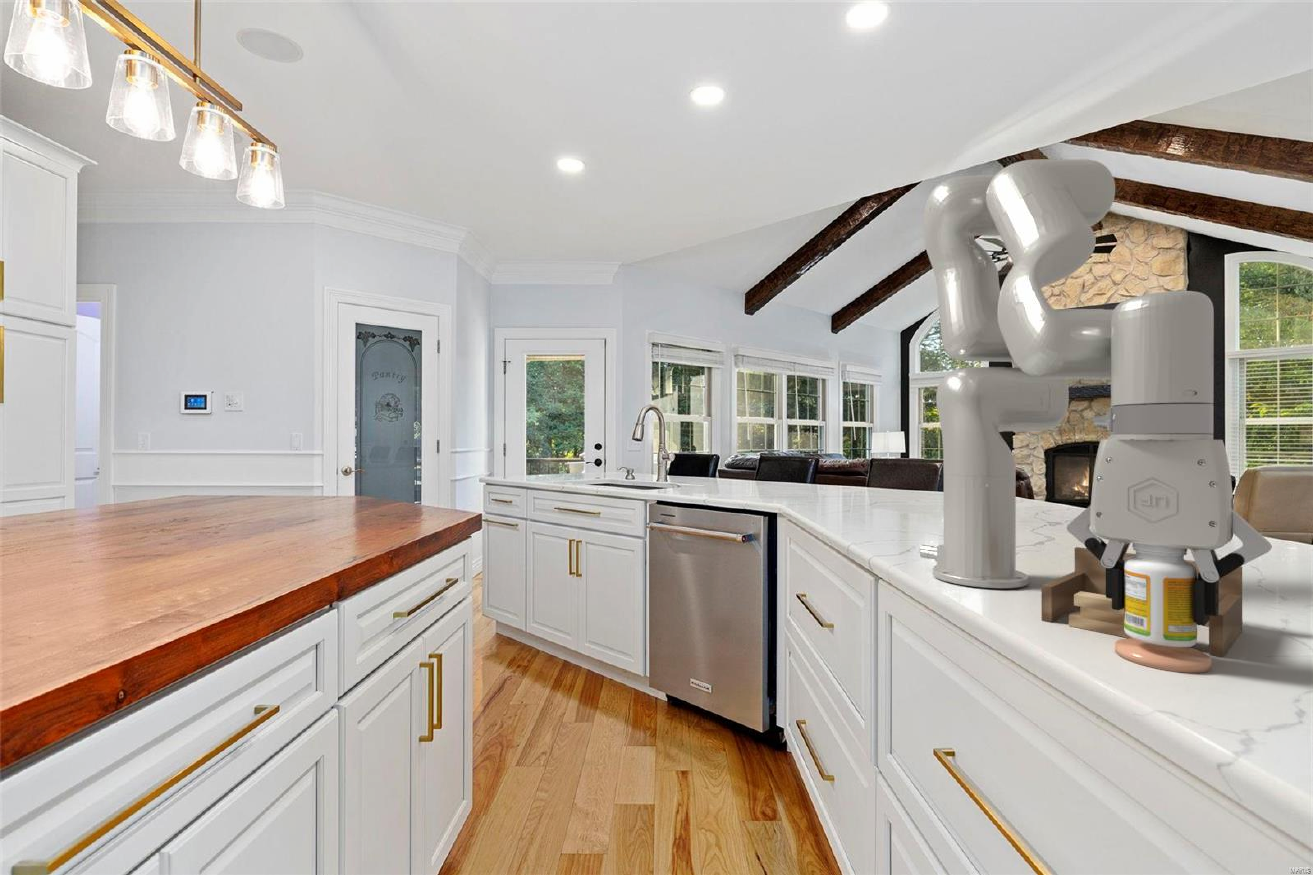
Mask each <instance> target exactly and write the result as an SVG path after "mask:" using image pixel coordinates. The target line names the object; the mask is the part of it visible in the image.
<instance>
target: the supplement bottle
mask: <svg viewBox="0 0 1313 875" xmlns="http://www.w3.org/2000/svg"><path fill="white" fill-rule="evenodd" d="M1132 547H1133V548H1132V550H1133V551H1135V554H1136V555H1135V556H1131V557H1129V558H1127V559H1126V560H1125V562H1124V631H1125V633H1126V634H1127V635H1129V636H1130V637H1132V638H1134V639H1137V640H1140V641H1143V642H1146V643H1151V644H1157V645H1163V646H1172V647H1189V648H1192V647H1193V646H1195V645H1196V644H1197V641H1198V625H1197V624H1196V623H1194V621H1193V584H1194V581H1195V580H1196V579H1197V571H1196V568H1195V567H1194V566H1193V565H1192V564H1191V563H1189V562H1187V561H1185V560H1186V559H1185V556H1187V555H1188V553H1187V552H1188V549H1184V548H1174V547H1165V546H1156V545H1146V544H1137V543H1132Z"/></svg>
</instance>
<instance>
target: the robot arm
mask: <svg viewBox="0 0 1313 875" xmlns="http://www.w3.org/2000/svg"><path fill="white" fill-rule="evenodd" d="M1115 193H1116V183H1115V179H1114V176H1113V173H1112V172H1111V171H1110V169H1109V168H1108V167H1107V166H1106V165H1104V164H1103V163H1102V162H1099V161H1097V160H1092V159H1066V158H1065V159H1062V158H1061V159H1056V158H1055V159H1052V158H1051V159H1050V158H1049V159H1046V158H1045V159H1043V158H1042V159H1041V158H1039V159H1025V160H1021V161H1016V162H1013V163H1012V164H1009V165H1007V166H1006V167H1004V168H1002V169H1001V170H1000V171H998V172H997V173H996V174H975V175H963V176H962V175H961V176H957V177H952V178H949V179H947V180H944V181H942V182H941V183H939V184H937V185H936V186H935V188H933V189H932V190H931V192H930V194H929V196H928V198H927V200H926V203H925V207H924V212H923V218H922V219H923V220H922V221H923V222H922V234H923V241H924V245H925V249H926V253H927V255H928V259H929V262H930V264H931V267H932V269H933V272H934V276H935V281H936V287H937V289H936V290H937V302H938V303H937V304H938V312H939V323H940V333H941V340H942V345H943V349H944V351H945V353H946V354H947V356H948V357H949V358H951V359H953V360H957V361H962V362H996V363H997V362H1002V363H1003V362H1010V363H1011V364H1012V366H1013V367H1005V366H997V367H996V366H976V367H975V366H974V367H972V366H971V367H965V368H964V367H963V368H959V369H955V370H952V372H949V373H948V374H947V375H945V376H943V378H942V379H941V380H940V382H939V384H938V386H937V389H936V396H935V397H936V398H935V400H936V401H935V402H936V409H937V414H938V419H939V423H940V430H941V437H942V438H941V439H942V451H943V452H942V455H943V456H942V458H943V459H942V460H943V461H942V462H943V464H942V465H943V472H942V473H943V544H939V545H937V546H934V545H929V544H921V545H920V547H919V556H920V558H922V559H928V560H929V559H931V560H934V561H935V562H936V565H934V566H933V567H932V568H931V569H932V575H933V577H935V579H938V580H940V581H943V582H944V581H945V582H947V583H951V584H955V585H962V586H968V587H973V588H974V587H975V588H983V589H984V588H986V589H1016V588H1017V589H1018V588H1023V587H1025V586H1027V585H1028V584H1029V576H1028V574H1026V573H1024V572H1022V571H1021V570H1017V568H1016V566H1017V565H1016V562H1017V559H1016V541H1017V540H1016V536H1017V533H1016V532H1017V528H1016V524H1017V523H1016V522H1017V521H1016V520H1017V519H1016V510H1017V508H1016V504H1017V503H1016V502H1017V500H1016V495H1017V494H1016V489H1017V488H1016V486H1017V485H1016V481H1017V480H1016V479H1017V478H1016V470H1017V469H1016V467H1017V466H1016V461H1015V457H1014V454H1013V452H1012V450H1011V449H1010V446H1008V444H1007V442H1006V441H1005V440H1004V438H1003V437H1002V435H1001V433H1002V432H1042V431H1043V432H1044V431H1049V430H1052V429H1054V428H1056V427H1057V426H1058V425H1060V424H1061V423H1062V421H1063V420H1064V419H1065V416H1066V415H1067V412H1068V408H1069V404H1070V403H1069V398H1070V396H1069V394H1070V393H1069V392H1070V391H1069V381H1068V380H1094V381H1109V380H1110V406H1111V407H1110V406H1109V407H1108V410H1107V412H1103V413H1102V414H1097V413H1096V414H1094V416H1093V419H1092V420H1093V421H1092V422H1093V427H1094V428H1103V429H1105V430H1107V431H1108V434H1110V439H1100V441H1099V444H1098V448H1097V453H1096V459H1095V462H1094V471H1093V478H1092V489H1091V497H1090V498H1091V500H1090V505H1088V506H1087V508H1085V509H1084V510H1083V511H1082V512H1081V513H1080V514H1078V516H1076V517H1075V518H1074V519H1073V520H1072V521H1071V522H1069V523H1068V525H1067V526H1066V530H1067V532H1068V533H1069V534H1071V535H1072V536H1073V537H1074V538H1075V539H1077V541H1079V542H1080V543H1082V544H1083V546H1085V547H1084V548H1087V549H1088V550H1089V551H1090V552H1091V553H1092V554H1093V555H1094V556H1095V557H1096V558H1098V559H1099V560H1100V561H1101V564H1102V565H1103V566H1104V567H1105V568H1106V598H1110V599H1112V609H1114V610H1120V609H1121V610H1122V609H1123V608H1124V562H1125V561H1124V560H1123V559H1124V557H1125V554H1126V553H1128V550H1129V547H1130V545H1131V544H1133V543H1137V544H1146V545H1156V546H1165V547H1174V548H1184V549H1187V550H1189V551H1190V553H1191V555H1192V557H1193V559H1194V560H1193V561H1195V562H1196V565H1197V567H1198V569H1199V573H1198V579H1196V580H1195V581H1194V584H1193V621H1194V623H1196V624H1197V626H1204V625H1205V624H1206V623H1207V622H1208V621H1209V619H1210V616H1218V611H1219V579H1220V578H1222V577H1224V576H1225V575H1227V574H1229V573H1230V572H1232V571H1234V570H1235V569H1237V568H1239V567H1240V566H1242V567H1243V566H1244V565H1246V564H1247V563H1249V562H1251V561H1254V560H1256V559H1259V558H1260V557H1261V556H1263V555H1265V554H1267V553H1269V552H1270V551H1271V550H1272V548H1273V547H1272V543H1271V542H1269V541H1268V539H1267V538H1265V537H1264V536H1263V535H1262V534H1261V532H1259V531H1258V530H1256V529H1255V527H1253V526H1252V525H1251V524H1250V523H1248V521H1246V519H1245V518H1244V517H1242V516H1241V515H1239V513H1237V512H1236V511H1235V510H1234V509H1235V508H1234V498H1233V486H1232V476H1231V470H1230V465H1229V458H1228V455H1227V451H1226V446H1225V443H1224V440H1223V439H1214V362H1215V360H1214V359H1215V358H1214V350H1215V349H1214V343H1215V342H1214V340H1215V339H1214V338H1215V337H1214V336H1215V334H1214V332H1215V331H1214V330H1215V329H1214V325H1215V324H1214V323H1215V321H1214V319H1215V317H1214V316H1215V314H1214V313H1215V312H1214V305H1213V304H1214V303H1213V302H1212V300H1211V298H1210V297H1209V296H1208V295H1206V294H1205V293H1203V292H1200V291H1193V290H1171V291H1170V290H1169V291H1161V292H1153V293H1146V294H1142V295H1141V294H1140V295H1137V296H1133V297H1129V298H1127V299H1125V300H1123V301H1121V302H1120V303H1118V304H1117V305H1116V306H1115V307H1114V309H1104V308H1059V309H1058V308H1055V309H1053V307H1051V305H1050V303H1049V302H1048V300H1047V298H1046V296H1045V294H1044V292H1043V290H1042V288H1044V287H1047V286H1049V285H1052V284H1055V283H1057V282H1059V281H1061V280H1063V279H1065V278H1067V277H1069V276H1070V275H1072V274H1074V273H1075V272H1077V271H1078V270H1079V269H1080V268H1082V267H1083V265H1085V264H1086V263H1087V262H1088V260H1089V259H1090V257H1091V256H1092V255H1093V253H1094V251H1095V247H1096V242H1097V241H1096V240H1097V239H1096V234H1095V232H1094V229H1092V226H1095V225H1096V224H1098V223H1099V222H1100V221H1102V219H1104V217H1105V216H1106V215H1107V214H1108V212H1110V209H1111V207H1112V205H1113V203H1114V199H1115V196H1116V195H1115ZM976 236H992V237H994V236H995V237H997V236H1000V238H1001V240H1002V242H1003V245H1004V247H1005V249H1006V251H1007V253H1008V256H1009V258H1010V260H1011V262H1012V264H1013V266H1012V268H1011V269H1010V270H1009V272H1007V275H1006V276H1005V278H1004V280H1003V283H1002V286H1000V280H999V271H998V267H997V265H996V263H995V261H993V258H992V257H991V256H990V254H989V253H988V252H987V251H986V249H984V248H983V246H982V245H980V244H979V243H978V242H977V241H976V240H975V237H976ZM1234 535H1235V536H1236V537H1237V539H1239V540H1240V541H1241V542H1242V546H1240V547H1239V548H1237V549H1235V550H1233V551H1231V552H1229V553H1228V554H1226V555H1224V556H1223V557H1221V558H1219V556H1218V554H1217V552H1216V550H1217V549H1220V548H1222V547H1224V546H1225V545H1227V544H1228V543H1229V542H1231V541H1232V540H1233V537H1234ZM1103 539H1104V540H1108V542H1107V543H1106V542H1105V541H1104V540H1103Z"/></svg>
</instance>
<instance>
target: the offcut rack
mask: <svg viewBox="0 0 1313 875" xmlns="http://www.w3.org/2000/svg"><path fill="white" fill-rule="evenodd" d="M1135 555H1136V553H1131V552H1126V554H1125V557H1124V559H1123V560H1124V561H1125V560H1126V559H1127V558H1129V557H1131V556H1135ZM1184 560H1185V561H1187V562H1189V563H1191V564H1192V565H1193V566H1194V567H1195V568H1196V571H1197V579H1198V573H1199V569H1198V567H1197V565H1196V562H1195V560H1191V559H1184ZM1078 608H1079V611H1074V610H1076V609H1078ZM1073 611H1074V612H1073ZM1070 612H1072V613H1070ZM1069 613H1070V614H1069ZM1068 614H1069V615H1068ZM1066 615H1068V626H1069V627H1073V628H1078V629H1082V630H1086V631H1091V632H1092V631H1093V632H1097V633H1101V634H1102V633H1103V634H1107V635H1112V636H1116V637H1122V638H1125V639H1127V638H1132V637H1130V636H1129V635H1127V634H1126V633H1125V631H1124V608H1123V609H1122V610H1121V609H1120V610H1114V609H1112V599H1110V598H1106V568H1105V567H1104V566H1103V565H1102V564H1101V561H1100V560H1099V559H1098V558H1096V557H1095V556H1094V555H1093V554H1092V553H1091V552H1090V551H1089V550H1088V549H1087V548H1086V547H1079V546H1076V547H1074V571H1072V572H1070V573H1068V574H1065V575H1063V576H1061V577H1059V578H1056V579H1054V580H1051V581H1049V582H1047V583H1045V584H1042V585H1041V621H1043V622H1048V623H1053V622H1054V621H1056V620H1058V619H1060V618H1062V617H1063V616H1066ZM1204 626H1205V627H1208V654H1209V656H1216V657H1221V658H1224V657H1225V655H1226V654H1227V653H1228V651H1229V650H1230V649H1231V647H1232V646H1233V644H1234V643H1235V641H1236V640H1237V638H1238V637H1239V635H1240V634H1241V633H1242V632H1243V565H1242V566H1240V567H1239V568H1237V569H1235V570H1234V571H1232V572H1230V573H1229V574H1227V575H1225V576H1224V577H1222V578H1220V579H1219V611H1218V616H1210V619H1209V621H1208V622H1207V623H1206V624H1205V625H1204Z"/></svg>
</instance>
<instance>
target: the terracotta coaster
mask: <svg viewBox="0 0 1313 875" xmlns="http://www.w3.org/2000/svg"><path fill="white" fill-rule="evenodd" d="M1114 648H1115V649H1114V652H1115V653H1116V655H1118V656H1119V657H1121V658H1123V659H1124V660H1127V661H1128V662H1132V663H1134V664H1137V665H1142V666H1144V667H1148V668H1153V669H1157V670H1161V671H1162V670H1163V671H1168V672H1173V673H1174V672H1177V673H1184V674H1185V673H1187V674H1200V673H1201V674H1202V673H1207V672H1210V671H1211V670H1212V658H1211V656H1210V655H1208V654H1206V653H1205V652H1202V651H1201V650H1198V649H1195V648H1192V647H1172V646H1163V645H1157V644H1151V643H1146V642H1143V641H1140V640H1137V639H1134V638H1120V639H1118V640H1116V641H1115V643H1114Z"/></svg>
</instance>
